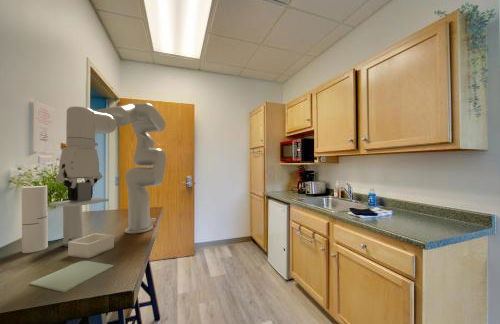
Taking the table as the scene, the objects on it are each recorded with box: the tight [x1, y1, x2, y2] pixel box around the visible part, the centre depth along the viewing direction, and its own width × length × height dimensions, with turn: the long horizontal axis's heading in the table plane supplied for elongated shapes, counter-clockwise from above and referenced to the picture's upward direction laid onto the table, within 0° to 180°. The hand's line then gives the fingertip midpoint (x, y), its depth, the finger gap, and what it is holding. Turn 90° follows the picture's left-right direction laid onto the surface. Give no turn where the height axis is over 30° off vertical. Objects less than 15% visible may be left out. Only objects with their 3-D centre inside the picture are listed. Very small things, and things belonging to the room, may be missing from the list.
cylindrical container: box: [21, 185, 49, 254], centre depth 83 cm, size 7×7×25 cm
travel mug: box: [62, 198, 84, 247], centre depth 88 cm, size 6×7×20 cm
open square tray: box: [67, 232, 115, 260], centre depth 79 cm, size 10×10×5 cm
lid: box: [49, 181, 110, 207], centre depth 69 cm, size 11×11×7 cm
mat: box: [29, 259, 115, 293], centre depth 63 cm, size 14×14×1 cm
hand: (80, 198), depth 69 cm, fingers closed on lid, 4 cm apart
